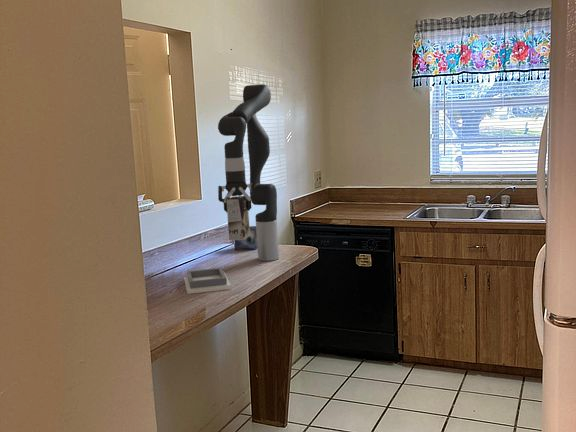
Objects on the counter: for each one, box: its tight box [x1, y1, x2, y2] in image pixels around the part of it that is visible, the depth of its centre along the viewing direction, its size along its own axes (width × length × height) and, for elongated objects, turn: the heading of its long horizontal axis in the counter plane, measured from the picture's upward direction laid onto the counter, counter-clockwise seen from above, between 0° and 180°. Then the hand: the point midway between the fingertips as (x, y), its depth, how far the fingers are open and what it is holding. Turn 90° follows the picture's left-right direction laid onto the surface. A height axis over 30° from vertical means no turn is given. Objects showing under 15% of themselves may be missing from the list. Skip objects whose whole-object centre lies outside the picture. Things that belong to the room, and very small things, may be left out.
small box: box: [233, 225, 258, 251], centre depth 288 cm, size 11×6×10 cm, turn 80°
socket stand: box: [183, 267, 232, 295], centre depth 228 cm, size 19×16×4 cm
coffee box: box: [226, 195, 251, 241], centre depth 233 cm, size 9×6×16 cm
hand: (237, 211), depth 233 cm, fingers closed on coffee box, 8 cm apart
